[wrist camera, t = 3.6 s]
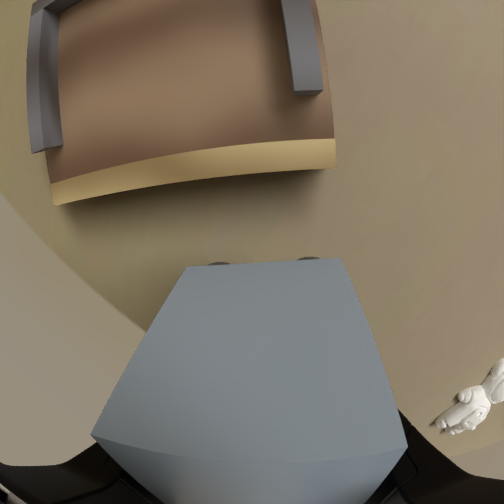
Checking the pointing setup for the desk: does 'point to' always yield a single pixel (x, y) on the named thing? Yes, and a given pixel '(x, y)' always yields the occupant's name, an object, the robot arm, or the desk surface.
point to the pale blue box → (256, 391)
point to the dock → (175, 91)
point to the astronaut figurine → (474, 403)
